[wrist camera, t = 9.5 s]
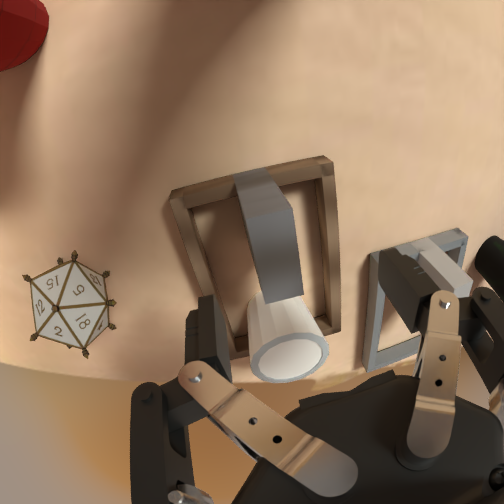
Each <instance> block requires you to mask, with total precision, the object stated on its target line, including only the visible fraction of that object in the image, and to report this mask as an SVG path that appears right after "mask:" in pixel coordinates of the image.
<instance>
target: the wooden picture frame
mask: <svg viewBox="0 0 504 504" xmlns="http://www.w3.org/2000/svg"><path fill="white" fill-rule="evenodd" d="M311 179H314V180H315V188H316V197H317V206H318V216H319V226H320V237H321V248H322V261H323V275H324V290H325V308H326V315H324V316H320V317H317V318H314V320H315V322H316V324H317V325H318V327H319V329H320V330H321V332H322V334H323V336H327V335H330V334H334V333H337V332H340V331H341V275H340V247H339V227H338V211H337V198H336V186H335V175H334V165H333V161H331V160H330V159H328V158H327V157H325V156H324V155H323V156H318V157H312V158H307V159H302V160H297V161H292V162H287V163H282V164H277V165H273V166H268V167H263V168H259V169H254V170H250V171H246V172H241V173H237V174H233V175H229V176H225V177H221V178H217V179H213V180H209V181H205V182H201V183H197V184H194V185H190V186H186V187H183V188H179V189H175V190H172V192H171V195H170V199H169V201H170V204H171V207H172V210H173V213H174V216H175V219H176V222H177V225H178V228H179V231H180V233H181V236H182V239H183V242H184V245H185V248H186V250H187V253H188V256H189V259H190V261H191V264H192V267H193V270H194V272H195V275H196V278H197V280H198V283H199V286H200V288H201V291H202V293H203V296H207V295H212V294H215V296H216V299H217V301H218V304H219V306H220V309H221V312H222V314H223V317H224V320H225V324H226V329H227V338H228V348H229V357H230V360H233V359H238V358H242V357H247V356H250V354H249V338H248V335H247V336H243V337H238V338H234V335H233V332H232V330H231V327H230V324H229V321H228V318H227V316H226V313H225V310H224V307H223V304H222V301H221V299H220V296H219V293H218V290H217V287H216V284H215V281H214V278H213V275H212V272H211V269H210V266H209V263H208V260H207V257H206V254H205V251H204V248H203V245H202V242H201V239H200V236H199V233H198V230H197V226H196V223H195V220H194V217H193V214H192V210H191V208H192V207H196V206H199V205H203V204H207V203H211V202H215V201H219V200H223V199H227V198H231V197H235V196H238V200H239V204H240V209H241V213H242V217H243V221H244V226H245V230H246V234H247V238H248V242H249V246H250V250H251V254H252V257H253V261H254V265H255V268H256V272H257V276H258V279H259V283H260V287H261V291H262V294H263V298H264V302H265V305H266V304H270V303H274V302H277V301H281V300H285V299H289V298H293V297H297V296H301V295H304V291H303V283H302V274H301V267H300V259H299V251H298V244H297V236H296V229H295V222H294V215H293V209H292V207H291V205H290V204H289V202H288V201H287V199H286V198H285V196H284V195H283V193H282V192H281V190H280V189H279V187H278V186H283V185H287V184H292V183H296V182H301V181H306V180H311Z"/></svg>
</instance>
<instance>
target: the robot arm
mask: <svg viewBox="0 0 504 504" xmlns="http://www.w3.org/2000/svg"><path fill="white" fill-rule="evenodd" d="M378 281H379V284H380V286H381V288H382V290H383V291H384V293H385V294H386V296H387V297H388V299H389V300H390V301H391V303H392V304H393V306H394V308H395V309H396V311H397V312H398V314H399V315H400V317H401V318H402V320H403V321H404V323H405V324H406V326H407V328H408V329H409V331H410V332H411V334H412V333H415V332H417V331H420V333H421V337H420V342H419V348H418V353H417V358H416V363H415V368H414V372H413V375H412V376H408V375H395V373H394V371H393V370H390V371H387V372H385V373H382V374H379V375H377V376H374V377H371V378H370V379H368V380H367V381H365V382H363V383H362V384H360V385H359V386H357V387H356V388H354V389H352V390H351V391H345V392H334V393H322V394H319V395H316V396H312V397H308V398H305V399H301V400H299V404H300V407H298V408H296V409H294V410H293V411H291V412H290V413H289V414H288V415H286V416H285V417H284V418H283V417H282V416H281V415H279V414H278V413H276V412H275V411H273V410H272V409H270V408H269V407H268V406H266V405H265V404H264V403H262V402H261V401H260V400H258V399H257V398H256V397H254V396H253V395H252V394H250V393H249V392H248V391H246V390H244V389H238V388H236V387H235V386H234V385H233V383H232V375H231V366H230V357H229V348H228V338H227V329H226V324H225V320H224V317H223V314H222V312H221V309H220V306H219V304H218V301H217V299H216V296H215V294H212V295H207V296H203V297H199V298H198V309H196V310H192V311H190V313H189V315H188V317H187V318H186V330H185V336H186V338H185V365H184V366H183V367H182V369H181V370H180V372H179V374H178V377H176V378H175V379H173V380H172V381H170V382H167V383H165V384H163V385H161V386H158V385H157V384H156V383H153V382H146V383H143V384H141V385H139V386H138V387H137V388H136V389H135V390H134V392H133V394H132V398H131V421H130V480H131V501H132V504H214V503H213V500H212V498H211V497H210V496H209V494H207V493H206V492H204V491H202V490H200V489H198V488H196V487H195V483H194V476H193V468H192V460H191V452H190V442H189V433H188V425H189V424H191V423H193V422H196V421H198V420H200V419H202V418H204V417H207V418H208V419H209V420H210V421H211V422H212V423H213V424H214V425H216V426H217V427H218V428H219V429H220V430H221V431H222V432H223V433H224V434H225V435H227V436H228V437H229V438H230V439H231V440H232V441H233V442H234V443H235V444H236V445H237V446H238V447H239V448H240V449H242V450H243V451H244V452H245V453H246V454H248V455H249V456H250V457H251V458H252V459H253V460H255V461H256V462H257V463H256V465H255V466H254V468H253V470H252V471H251V473H250V475H249V476H248V478H247V480H246V481H245V483H244V484H243V486H242V487H241V489H240V491H239V492H238V494H237V495H236V497H235V499H234V500H233V502H232V503H231V504H504V303H503V302H502V301H501V299H500V298H499V297H498V296H497V294H496V293H495V292H494V291H493V290H491V289H489V288H487V287H478V288H476V289H475V290H474V292H473V295H472V297H462V298H457V296H456V295H455V294H453V293H452V292H449V291H446V290H441V289H440V288H439V287H438V286H437V285H436V283H435V282H434V281H433V280H432V279H431V277H430V276H429V275H428V274H427V273H426V272H425V271H424V269H423V268H422V267H420V265H419V264H418V263H417V262H416V260H415V259H413V258H411V257H410V256H408V255H406V254H405V255H402V254H401V253H400V252H399V251H398V250H397V249H396V248H395V247H392V248H389V249H385V250H382V251H380V252H379V264H378ZM486 330H487V331H488V333H489V334H490V336H491V337H492V339H493V341H494V343H493V341H492V340H491V338H490V336H489V335H488V333H487V332H486ZM461 343H462V345H463V347H464V348H465V350H466V352H467V353H468V355H469V357H470V359H471V360H472V362H473V363H474V366H475V367H476V369H477V371H478V373H479V374H480V376H481V378H482V380H483V382H484V384H485V386H486V387H487V389H488V391H489V393H490V396H489V410H487V409H485V408H482V407H480V406H478V405H476V404H473V403H471V402H469V401H467V400H465V399H462V398H460V397H458V396H456V389H457V381H458V373H459V363H460V351H461Z"/></svg>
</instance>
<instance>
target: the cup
mask: <svg viewBox="0 0 504 504" xmlns="http://www.w3.org/2000/svg"><path fill="white" fill-rule="evenodd" d="M475 267H476V269H477V270H478V271H479V273H480V274H481V275H482V276H483V277H484V279H485V280H486V281H487V282H488V283H489V285H490V286H491V287H492V288H493V290H494V291H495V292H496V294H497V295H498V296H499V297H500V299H501V300H502V301H503V303H504V240H502V239H500V238H499V237H497V236H491V237H490V238H488V239H487V240H486V241H485V242H484V243H483V244H482V246H481V247H480V249H479V251H478V253H477V256H476V259H475Z"/></svg>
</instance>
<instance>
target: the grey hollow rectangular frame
mask: <svg viewBox="0 0 504 504" xmlns="http://www.w3.org/2000/svg"><path fill="white" fill-rule="evenodd" d="M467 241H468V236H467V235H466V234H465V233H464V232H462V231H461V230H460V229H459V228H456V229H452V230H449V231H446V232H442V233H439V234H436V235H433V236H429V237H426V238H422V239H419V240H416V241H412V242H409V243H405V244H402V245H398V246H395V248H396V249H397V250H398V251H399V252H400V253H401V254H402V255H405V254H406V255H408V256H410V257H411V258H413V259H415V260H416V262H417V263H418V264H419V265H420V267H422V268H423V269H424V271H425V272H426V273H427V274H428V275H429V276H430V277H431V279H432V280H433V281H434V282H435V283H436V285H437V286H438V287H439V288H440V289H441V290H446V291H449V292H452V293H453V294H455V295H456V296H457V298H462V297H469V294H470V291H471V287H472V284H473V280H472V279H471V278H470V277H469V276H468V275H467V274H466V273H465V272H464V271H463V270H462V264H463V260H464V256H465V251H466V246H467ZM391 248H392V247H391ZM388 249H389V248H388ZM384 250H385V249H384ZM381 251H382V250H381ZM446 251H448V255H447V254H446V253H445V252H446ZM379 252H380V251H377V252H374V253H370V271H369V290H368V305H367V317H366V328H365V338H364V347H363V356H362V364H363V366H364V368H365V370H366V372H367V373H368V372H371V371H373V370H376V369H379V368H381V367H384V366H387V365H389V364H392V363H394V362H397V361H399V360H402V359H404V358H407V357H409V356H411V355H414V354H416V353H418V348H419V342H420V337H421V335H420V336H418V337H416V338H413V339H411V340H408V341H406V342H403V343H401V344H398V345H396V346H393V347H390V348H388V349H385V350H382V351H380V352H377V350H378V344H379V338H380V331H381V324H382V317H383V310H384V302H385V293H384V291H383V290H382V288H381V286H380V284H379V281H378V264H379Z"/></svg>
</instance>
